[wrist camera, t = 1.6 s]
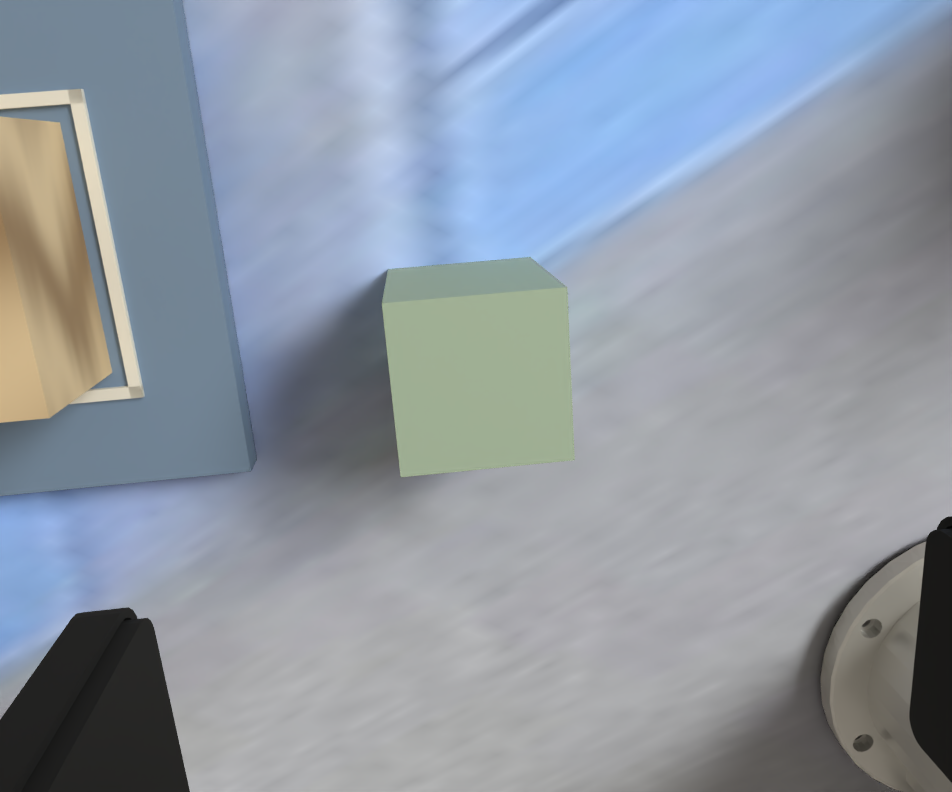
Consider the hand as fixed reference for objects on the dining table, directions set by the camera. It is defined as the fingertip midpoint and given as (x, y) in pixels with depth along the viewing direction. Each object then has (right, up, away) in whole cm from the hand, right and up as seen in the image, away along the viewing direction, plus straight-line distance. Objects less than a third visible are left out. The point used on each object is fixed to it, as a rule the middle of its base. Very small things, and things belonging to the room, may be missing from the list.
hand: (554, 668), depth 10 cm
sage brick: (-1, +6, +19) cm, 20 cm away
